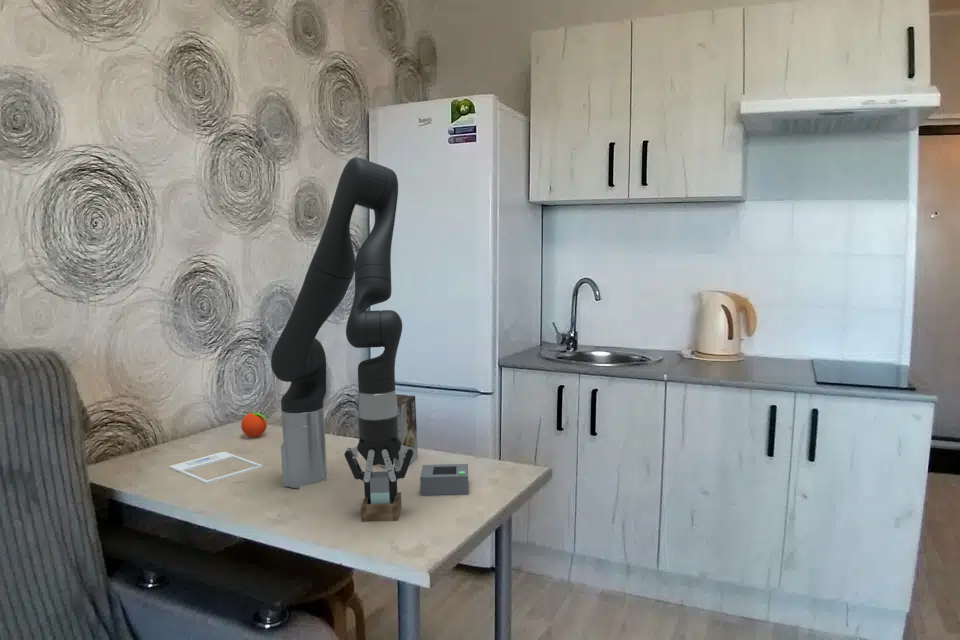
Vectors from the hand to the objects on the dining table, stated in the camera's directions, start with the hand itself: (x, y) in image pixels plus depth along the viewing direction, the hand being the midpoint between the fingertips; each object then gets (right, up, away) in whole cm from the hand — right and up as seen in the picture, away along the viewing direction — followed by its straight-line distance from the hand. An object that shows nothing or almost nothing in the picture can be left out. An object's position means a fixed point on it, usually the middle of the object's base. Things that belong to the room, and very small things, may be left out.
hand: (381, 498), depth 136 cm
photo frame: (-45, -2, +34) cm, 57 cm away
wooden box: (0, -4, +1) cm, 4 cm away
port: (+12, -2, +14) cm, 18 cm away
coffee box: (0, 0, +34) cm, 34 cm away
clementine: (-44, +2, +60) cm, 74 cm away
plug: (0, -3, 0) cm, 3 cm away
